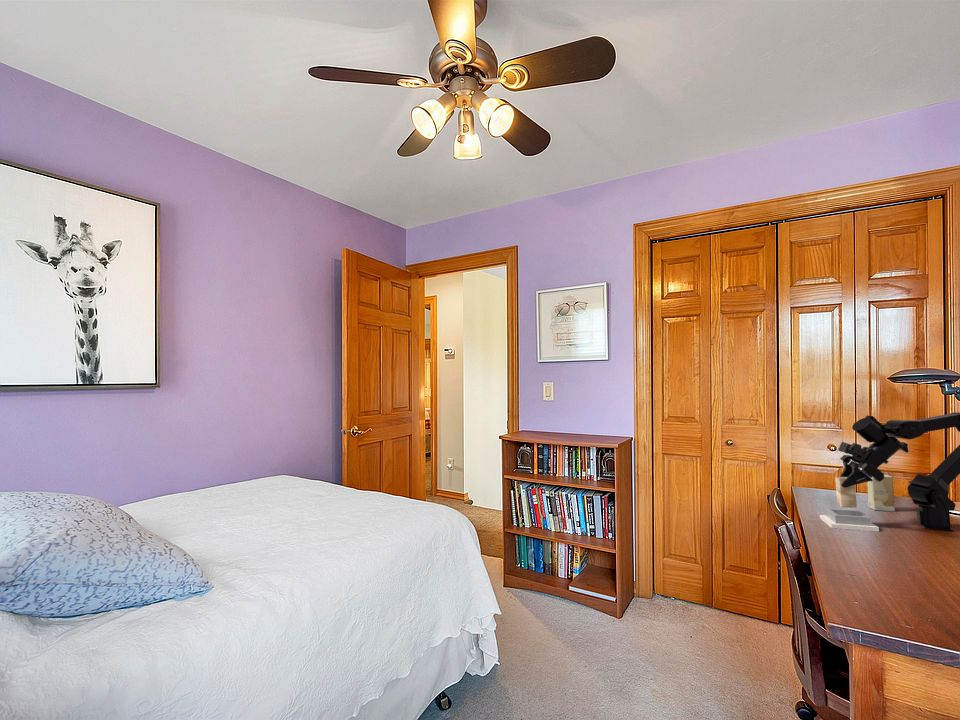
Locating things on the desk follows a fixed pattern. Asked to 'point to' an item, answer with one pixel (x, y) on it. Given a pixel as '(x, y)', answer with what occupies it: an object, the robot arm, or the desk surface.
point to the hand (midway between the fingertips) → (840, 485)
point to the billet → (845, 494)
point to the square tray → (848, 520)
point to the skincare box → (881, 494)
